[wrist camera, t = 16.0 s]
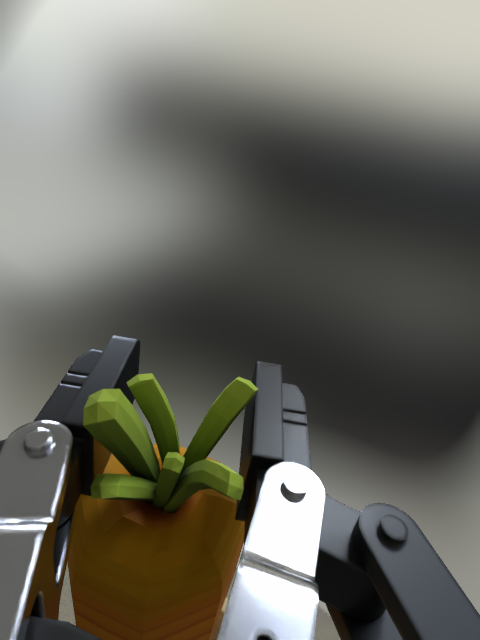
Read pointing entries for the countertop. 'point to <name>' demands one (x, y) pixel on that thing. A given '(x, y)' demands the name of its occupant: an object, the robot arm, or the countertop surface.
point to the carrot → (156, 519)
